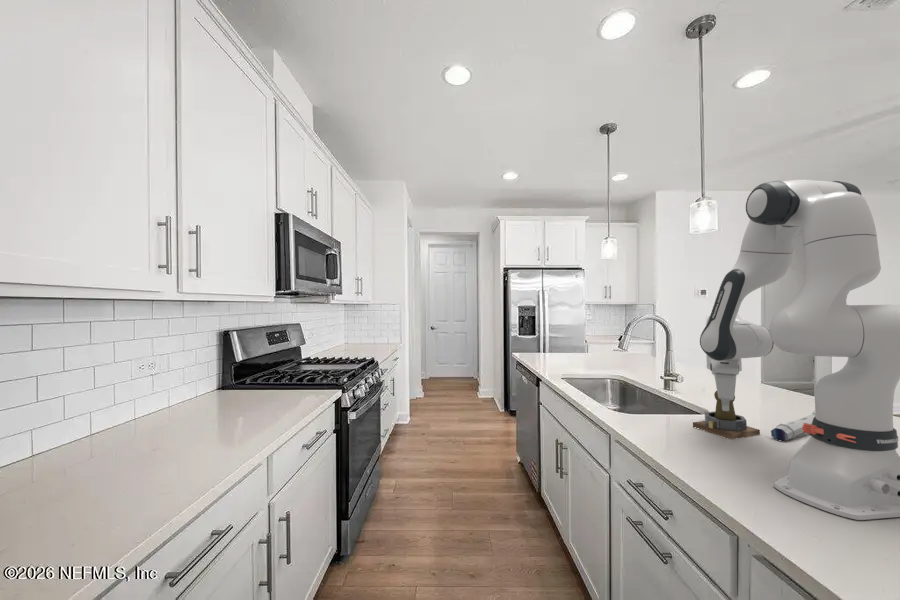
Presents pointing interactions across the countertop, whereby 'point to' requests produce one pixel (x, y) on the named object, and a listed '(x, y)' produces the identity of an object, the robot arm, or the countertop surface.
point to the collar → (725, 423)
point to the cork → (724, 414)
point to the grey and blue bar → (791, 428)
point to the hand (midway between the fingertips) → (725, 408)
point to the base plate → (727, 434)
